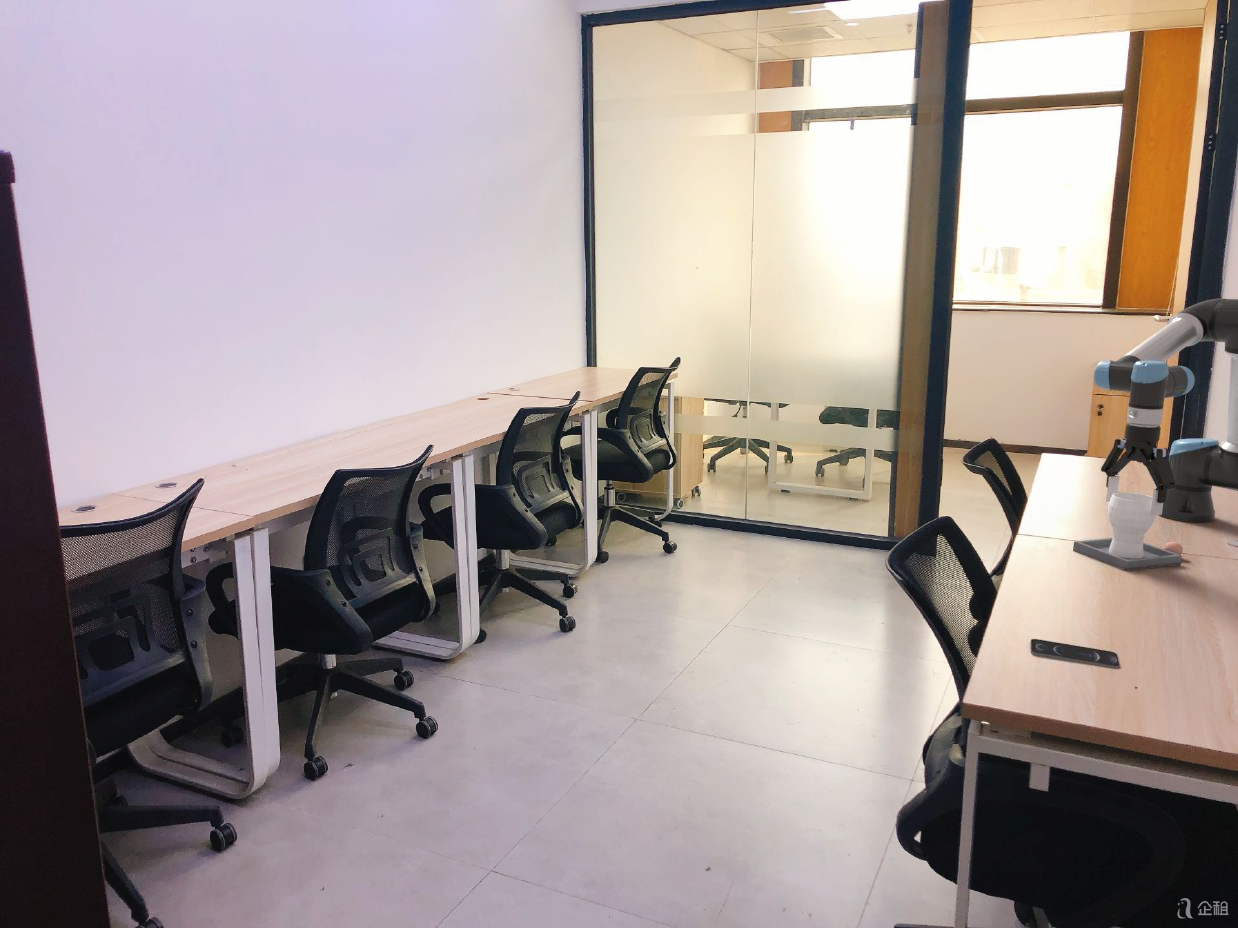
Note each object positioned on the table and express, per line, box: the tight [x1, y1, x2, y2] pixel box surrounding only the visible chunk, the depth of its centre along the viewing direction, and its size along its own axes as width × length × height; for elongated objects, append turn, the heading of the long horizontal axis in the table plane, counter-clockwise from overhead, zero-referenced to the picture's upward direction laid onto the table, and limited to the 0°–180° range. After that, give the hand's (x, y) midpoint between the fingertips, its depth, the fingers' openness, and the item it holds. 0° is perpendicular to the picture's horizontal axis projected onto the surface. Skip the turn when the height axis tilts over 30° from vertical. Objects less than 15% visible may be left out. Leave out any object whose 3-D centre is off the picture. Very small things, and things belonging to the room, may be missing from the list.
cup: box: [1107, 491, 1157, 559], centre depth 232 cm, size 11×11×15 cm
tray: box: [1072, 537, 1183, 572], centre depth 233 cm, size 17×17×2 cm
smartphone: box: [1030, 638, 1121, 669], centre depth 175 cm, size 8×1×15 cm
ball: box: [1163, 541, 1183, 555], centre depth 234 cm, size 4×4×4 cm
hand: (1133, 507), depth 231 cm, fingers open, 13 cm apart
